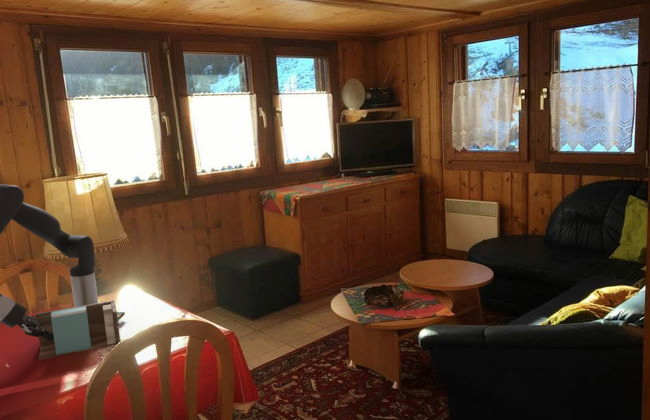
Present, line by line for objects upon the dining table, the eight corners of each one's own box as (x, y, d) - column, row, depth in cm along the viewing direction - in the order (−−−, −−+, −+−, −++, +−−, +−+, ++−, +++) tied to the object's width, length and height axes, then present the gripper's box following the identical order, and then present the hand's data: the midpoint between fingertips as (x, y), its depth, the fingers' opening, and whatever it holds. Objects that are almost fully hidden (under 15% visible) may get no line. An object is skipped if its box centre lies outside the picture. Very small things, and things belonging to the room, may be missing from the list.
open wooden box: (41, 349, 197) (35, 310, 195) (118, 334, 208) (113, 297, 205) (39, 363, 186) (33, 323, 183) (120, 347, 196) (116, 308, 193)
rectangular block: (56, 350, 192) (51, 312, 190) (90, 343, 197) (86, 306, 194) (56, 354, 189) (50, 315, 186) (91, 347, 193) (86, 309, 190)
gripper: (12, 308, 177) (59, 336, 184) (16, 296, 189) (60, 323, 196) (-4, 327, 176) (44, 354, 183) (1, 313, 188) (46, 340, 195)
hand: (52, 338), depth 189 cm, fingers closed
